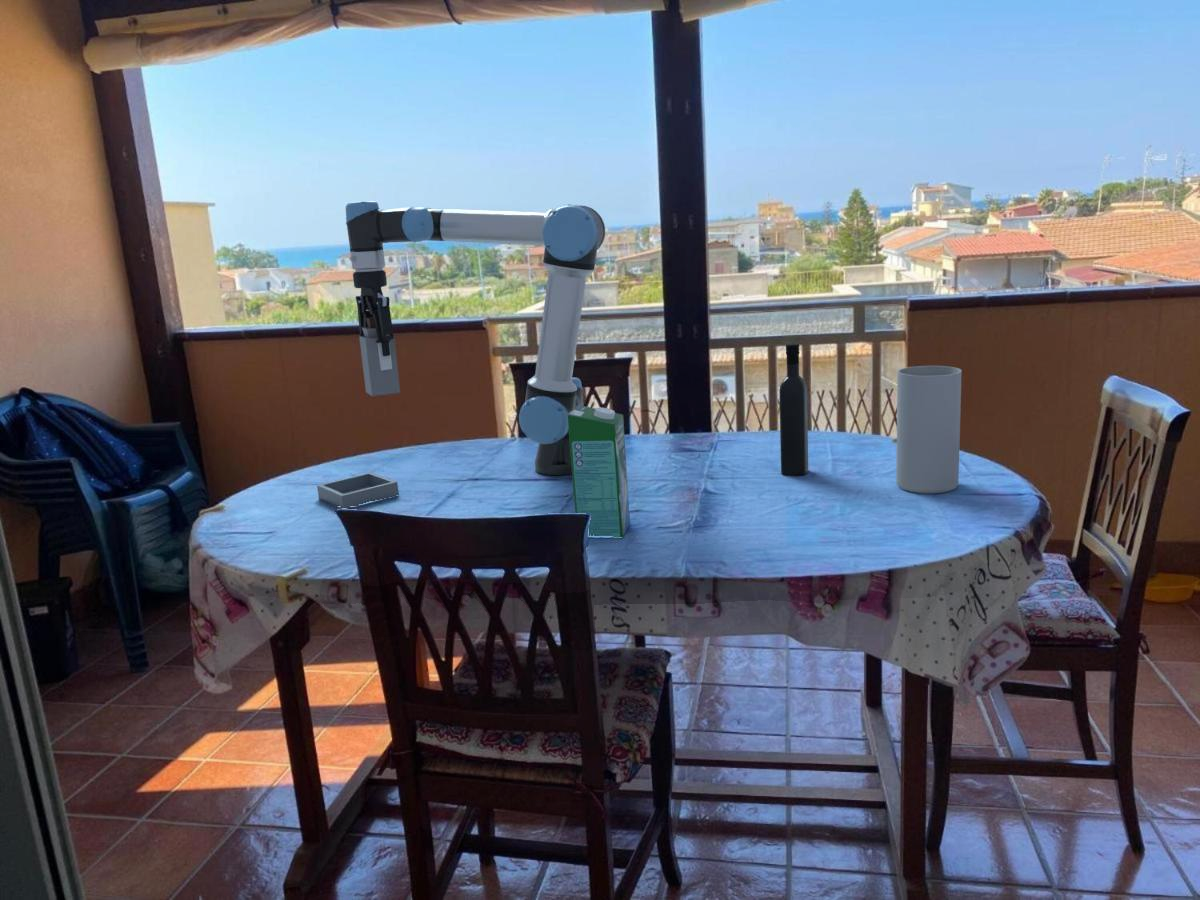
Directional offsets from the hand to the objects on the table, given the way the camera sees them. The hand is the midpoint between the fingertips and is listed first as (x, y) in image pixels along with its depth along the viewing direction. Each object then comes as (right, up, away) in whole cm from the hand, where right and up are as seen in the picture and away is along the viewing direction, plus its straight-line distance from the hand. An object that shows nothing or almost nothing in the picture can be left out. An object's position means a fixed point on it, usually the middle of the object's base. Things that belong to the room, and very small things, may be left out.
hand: (380, 368), depth 216 cm
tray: (-5, -31, 0) cm, 31 cm away
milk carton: (+54, -36, -36) cm, 74 cm away
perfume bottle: (0, -6, +2) cm, 6 cm away
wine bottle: (+98, -25, -6) cm, 101 cm away
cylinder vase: (+123, -28, -23) cm, 128 cm away
